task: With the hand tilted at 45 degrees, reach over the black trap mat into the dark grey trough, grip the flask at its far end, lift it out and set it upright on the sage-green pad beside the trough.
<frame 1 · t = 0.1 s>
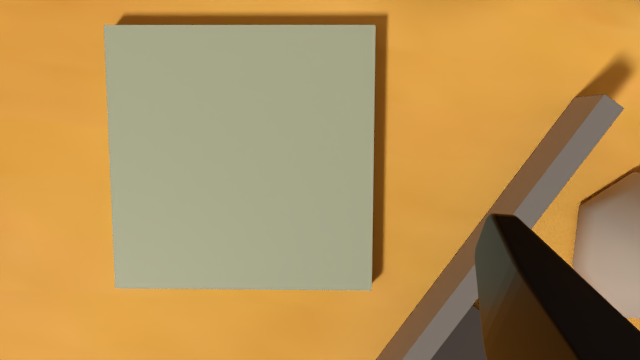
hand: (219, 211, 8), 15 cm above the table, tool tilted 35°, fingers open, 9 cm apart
pad: (244, 159, 23), on the table
trough: (579, 328, 24), on the table
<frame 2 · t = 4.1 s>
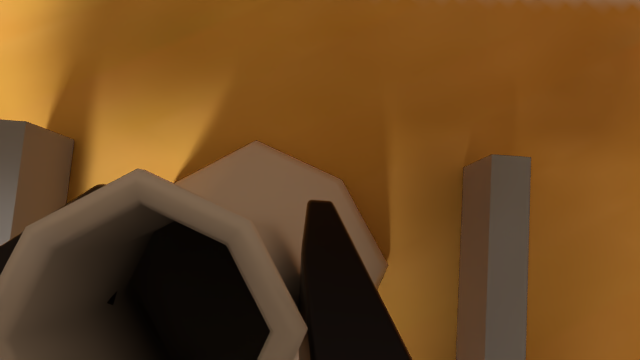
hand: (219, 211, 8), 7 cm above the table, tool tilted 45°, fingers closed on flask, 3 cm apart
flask: (259, 267, 15), on the table, touching gripper
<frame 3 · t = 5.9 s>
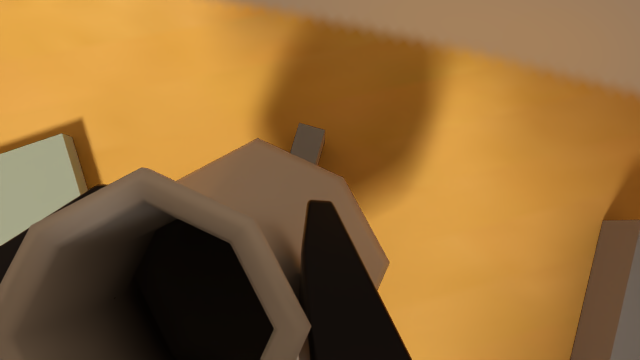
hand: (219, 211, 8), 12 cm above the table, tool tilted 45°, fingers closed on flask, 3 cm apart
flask: (261, 265, 15), point 5 cm above the table, touching gripper
when the fingers open (9 cm above the table, at t = 7.9 s): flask drops 1 cm, resting on pad.
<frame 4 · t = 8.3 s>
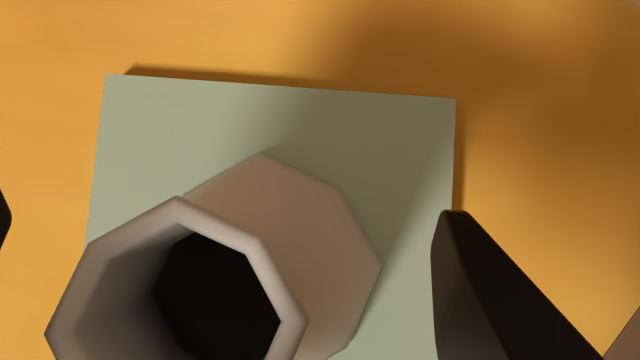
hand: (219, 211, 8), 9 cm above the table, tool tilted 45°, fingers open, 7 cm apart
pad: (268, 262, 17), on the table
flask: (265, 268, 16), point 1 cm above the table, touching pad
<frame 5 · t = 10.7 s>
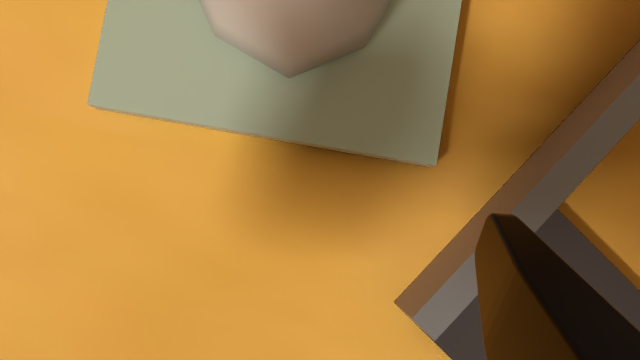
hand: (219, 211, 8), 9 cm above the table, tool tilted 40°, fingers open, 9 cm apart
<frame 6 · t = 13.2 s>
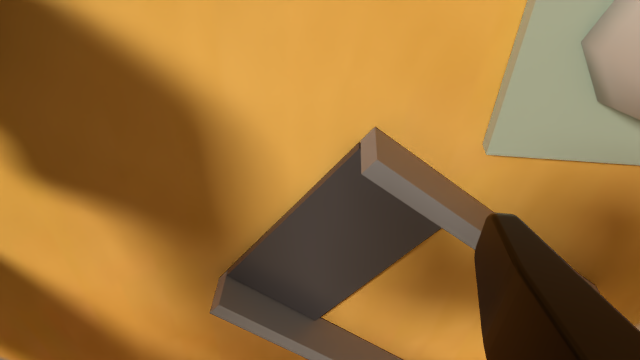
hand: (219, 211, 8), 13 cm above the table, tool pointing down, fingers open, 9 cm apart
trough: (403, 282, 29), on the table
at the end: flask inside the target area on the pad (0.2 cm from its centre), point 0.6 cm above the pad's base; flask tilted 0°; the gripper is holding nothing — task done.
